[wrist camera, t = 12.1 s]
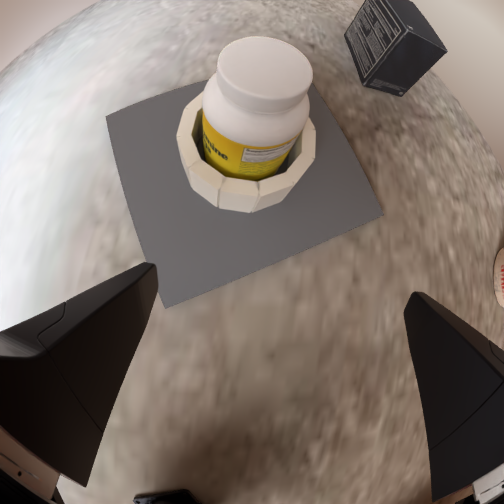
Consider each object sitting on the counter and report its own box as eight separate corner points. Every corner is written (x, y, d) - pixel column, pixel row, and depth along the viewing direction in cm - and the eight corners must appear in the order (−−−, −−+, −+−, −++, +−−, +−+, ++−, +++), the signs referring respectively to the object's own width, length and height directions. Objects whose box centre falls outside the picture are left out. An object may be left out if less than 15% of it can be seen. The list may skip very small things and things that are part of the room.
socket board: (167, 307, 21) (153, 314, 16) (108, 121, 22) (91, 91, 17) (378, 217, 24) (410, 203, 19) (295, 68, 25) (308, 37, 20)
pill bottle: (197, 132, 22) (192, 32, 11) (267, 121, 23) (303, 27, 12) (212, 200, 21) (214, 119, 10) (288, 184, 22) (347, 107, 11)
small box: (404, 99, 27) (451, 53, 17) (361, 87, 26) (406, 30, 16) (381, 46, 28) (415, 1, 18) (342, 34, 27) (371, -18, 17)
